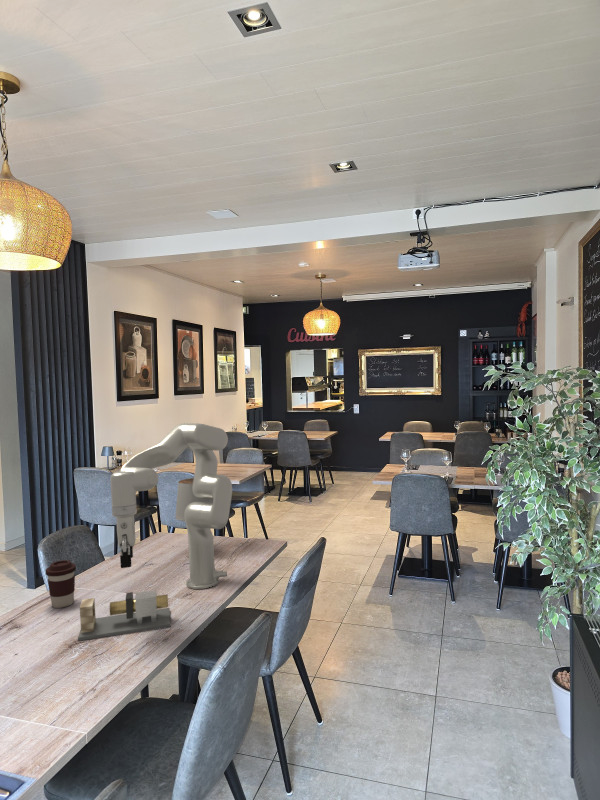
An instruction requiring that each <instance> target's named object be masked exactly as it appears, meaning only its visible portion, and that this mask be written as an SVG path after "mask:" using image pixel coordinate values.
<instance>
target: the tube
mask: <svg viewBox="0 0 600 800" xmlns="http://www.w3.org/2000/svg"><path fill="white" fill-rule="evenodd" d="M168 597H169V596H168V594H161V595H156V604H157V609H164V608H169V598H168ZM134 613H136V608H135V598H134V592H133V591H131V592H126V594H125V599H124V600H123V599H122V600H117V601H110V602H109V615H110V616H115V615H122V614H126V617H127V619H130V618H133V615H134Z"/></svg>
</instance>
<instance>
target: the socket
mask: <svg viewBox="0 0 600 800" xmlns="http://www.w3.org/2000/svg"><path fill="white" fill-rule="evenodd" d="M79 617H80V618H79V619H80V630H81V633H84V632H91V631H94V627H95V623H96V618H97V616H96V602H95V598H94V597H93V598H85V599H82V600H81V602H80V606H79Z"/></svg>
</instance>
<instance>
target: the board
mask: <svg viewBox="0 0 600 800" xmlns="http://www.w3.org/2000/svg"><path fill="white" fill-rule="evenodd" d="M170 609H171V608H170V607H166V608H159V609H157V621H155V622H151V616H146V617H143V622H142V623H141V624H137V618H136V612H134V615H133V618H130V619H127V617H126V613H124V614H117V615H110V616H102V617H101V616H100V617H96V623H95V627H94V631H91V632H84V633H81V629H80V631H79V633H78V635H77V641H78V642H80V641H85V640H86V641H88V640H93V639H101V638H107V637H108V638H109V637H113V636H119V635H125V634H126V635H127V634H133V633H140V632H146V631H147V632H148V631H152V630H153V629H154V630H160V629H165V628H164V627H167V628H171V612H170V611H171V610H170ZM159 628H160V629H159Z"/></svg>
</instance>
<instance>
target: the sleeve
mask: <svg viewBox="0 0 600 800" xmlns="http://www.w3.org/2000/svg"><path fill="white" fill-rule="evenodd" d="M156 596H157V590H155V589H154V590H149V591H140V592H135V597H134V599H135V608H136V612H135V613H136V618H137V624H141V623H142V622H143V617H146V616H151V622H155V621H157V604H156Z"/></svg>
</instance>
